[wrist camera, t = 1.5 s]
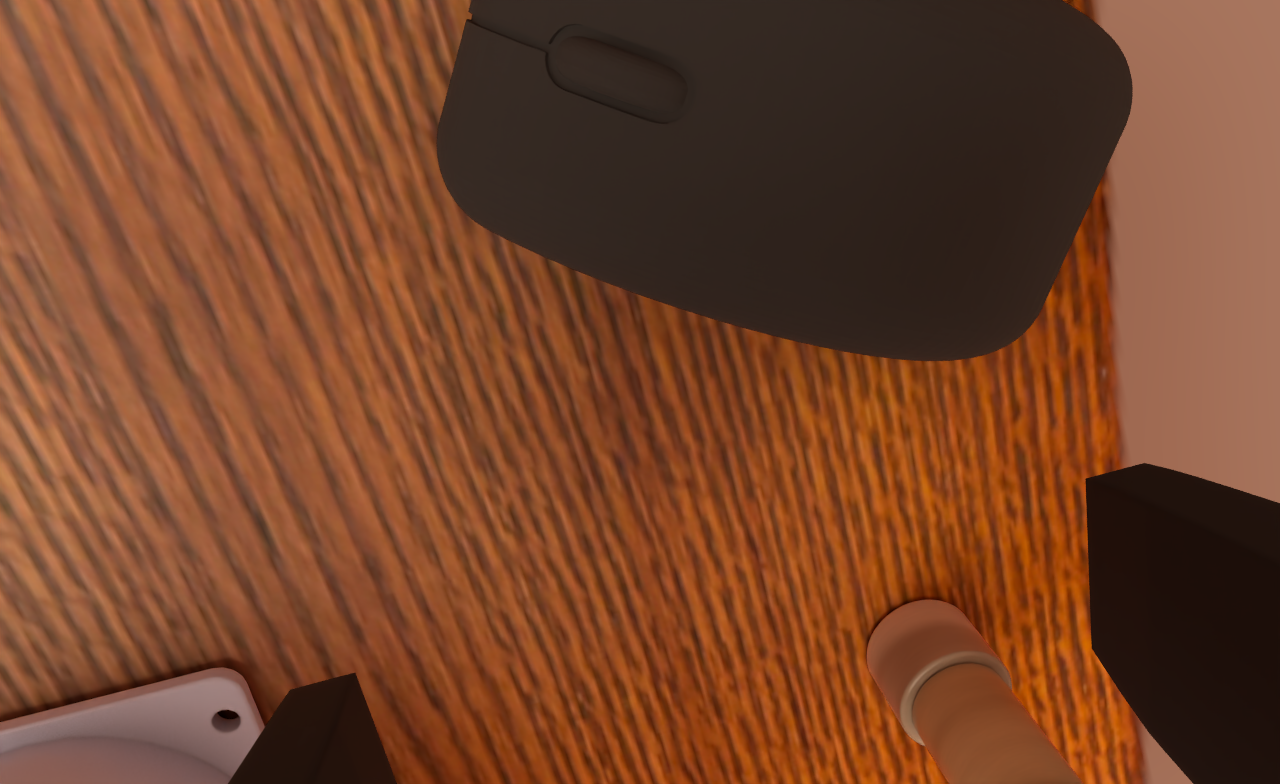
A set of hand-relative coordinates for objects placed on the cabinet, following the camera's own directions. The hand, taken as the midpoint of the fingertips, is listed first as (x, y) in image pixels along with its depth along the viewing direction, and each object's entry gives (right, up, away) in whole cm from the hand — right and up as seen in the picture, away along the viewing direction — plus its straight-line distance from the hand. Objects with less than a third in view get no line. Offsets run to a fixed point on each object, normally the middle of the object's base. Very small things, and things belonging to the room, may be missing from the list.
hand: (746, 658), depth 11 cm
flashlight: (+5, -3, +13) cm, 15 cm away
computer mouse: (+1, +7, +9) cm, 12 cm away
